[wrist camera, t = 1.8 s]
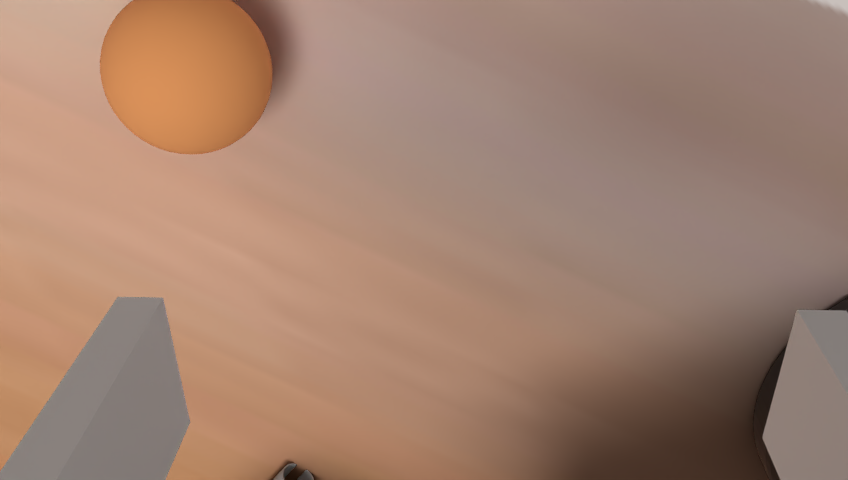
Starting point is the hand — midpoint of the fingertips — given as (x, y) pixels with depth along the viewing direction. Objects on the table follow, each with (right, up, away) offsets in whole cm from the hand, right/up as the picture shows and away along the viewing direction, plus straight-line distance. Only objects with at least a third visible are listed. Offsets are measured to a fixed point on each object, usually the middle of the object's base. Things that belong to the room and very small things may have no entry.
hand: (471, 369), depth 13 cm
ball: (-9, +8, +13) cm, 18 cm away
